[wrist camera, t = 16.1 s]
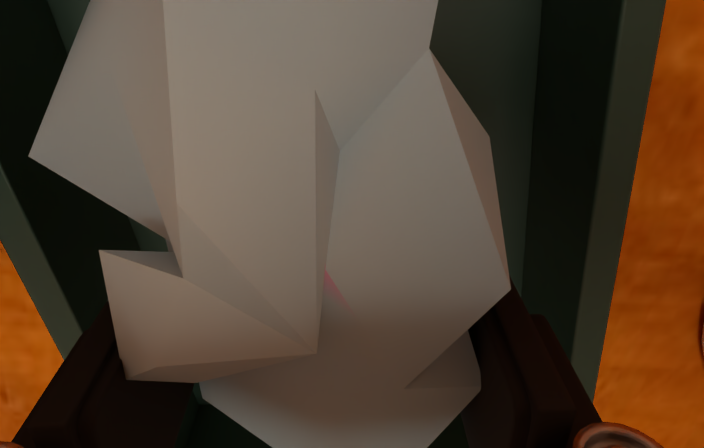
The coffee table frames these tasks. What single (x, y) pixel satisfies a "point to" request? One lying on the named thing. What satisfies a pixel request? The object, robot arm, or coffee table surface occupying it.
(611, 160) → the caddy
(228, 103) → the faceted ice chunk
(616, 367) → the coffee table surface
